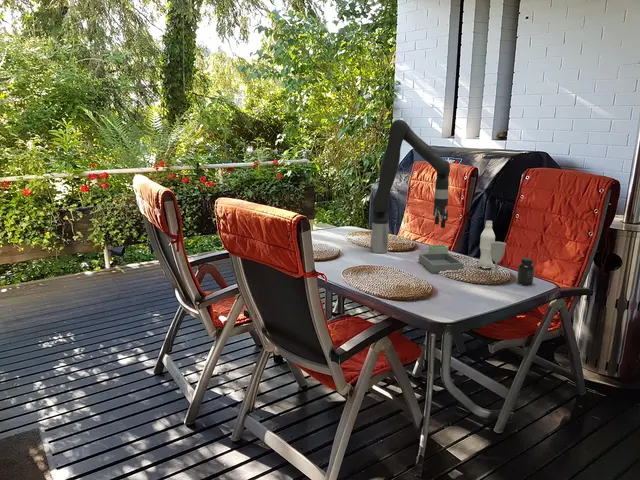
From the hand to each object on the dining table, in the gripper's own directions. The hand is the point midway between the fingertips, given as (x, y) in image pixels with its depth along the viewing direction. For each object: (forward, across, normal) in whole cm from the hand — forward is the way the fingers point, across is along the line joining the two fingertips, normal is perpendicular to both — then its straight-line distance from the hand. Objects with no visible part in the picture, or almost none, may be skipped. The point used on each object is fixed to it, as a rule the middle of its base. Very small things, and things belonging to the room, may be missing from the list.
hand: (439, 226), depth 271 cm
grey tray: (+17, +20, -7) cm, 27 cm away
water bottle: (+17, +26, +15) cm, 35 cm away
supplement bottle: (+18, +51, +22) cm, 58 cm away
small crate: (+17, 0, 0) cm, 17 cm away
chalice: (+17, +43, +11) cm, 48 cm away
